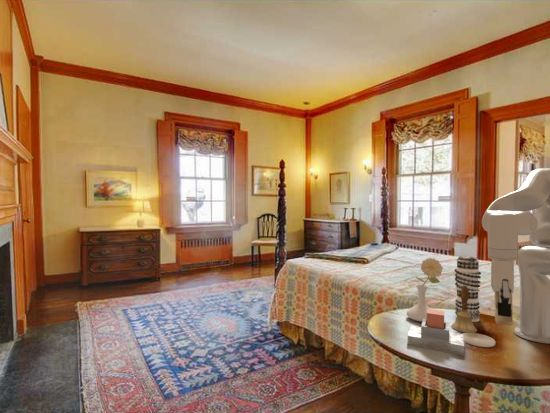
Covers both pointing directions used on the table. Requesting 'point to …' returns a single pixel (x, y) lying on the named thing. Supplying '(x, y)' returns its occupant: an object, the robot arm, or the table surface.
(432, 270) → the flower in vase
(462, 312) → the hand bell
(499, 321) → the pale wood brick
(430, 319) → the button
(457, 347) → the base
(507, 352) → the table surface
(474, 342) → the coaster
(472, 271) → the decorative candle
